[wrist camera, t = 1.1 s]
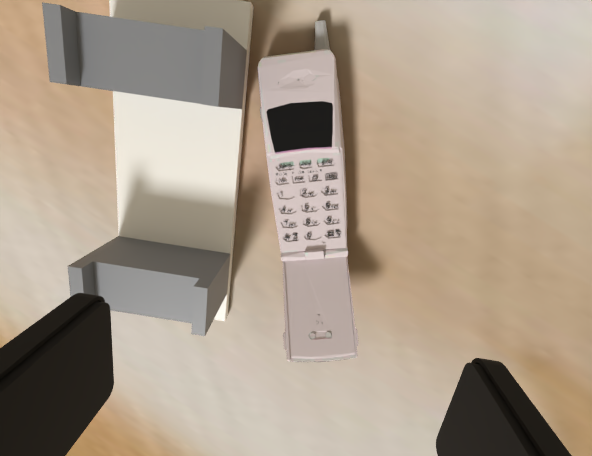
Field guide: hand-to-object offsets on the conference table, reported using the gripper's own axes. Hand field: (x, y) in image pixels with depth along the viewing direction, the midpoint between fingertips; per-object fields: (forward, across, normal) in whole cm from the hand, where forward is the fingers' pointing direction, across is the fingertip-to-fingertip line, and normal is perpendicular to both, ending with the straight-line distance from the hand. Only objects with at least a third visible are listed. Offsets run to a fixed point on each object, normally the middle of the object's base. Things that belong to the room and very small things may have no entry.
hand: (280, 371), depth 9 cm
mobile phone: (+21, 0, 0) cm, 21 cm away
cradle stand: (+20, +11, 0) cm, 23 cm away
